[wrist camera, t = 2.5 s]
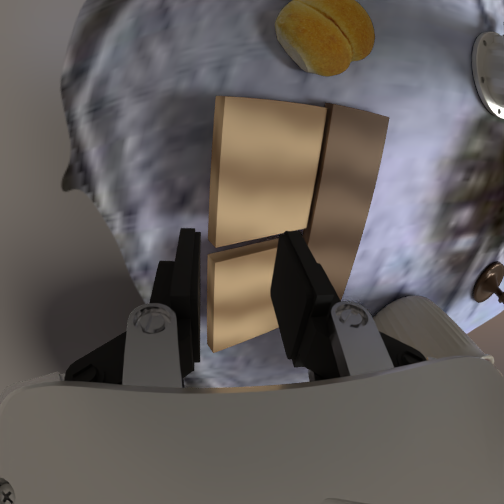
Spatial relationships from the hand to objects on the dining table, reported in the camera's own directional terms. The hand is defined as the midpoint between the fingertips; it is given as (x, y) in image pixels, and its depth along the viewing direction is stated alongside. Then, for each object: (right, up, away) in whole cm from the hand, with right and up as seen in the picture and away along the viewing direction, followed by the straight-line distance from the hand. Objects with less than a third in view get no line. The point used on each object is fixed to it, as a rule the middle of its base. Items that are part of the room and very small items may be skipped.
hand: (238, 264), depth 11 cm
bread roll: (+7, +21, +9) cm, 24 cm away
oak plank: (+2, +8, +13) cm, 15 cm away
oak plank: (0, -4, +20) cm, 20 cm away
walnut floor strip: (+9, +3, +20) cm, 22 cm away
